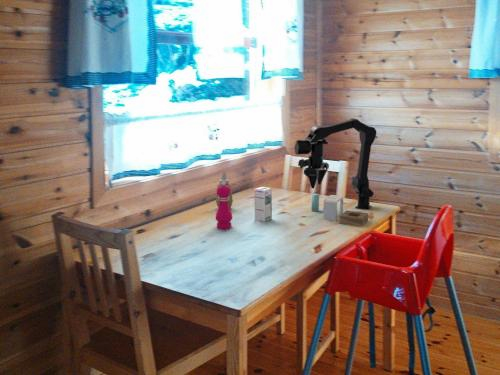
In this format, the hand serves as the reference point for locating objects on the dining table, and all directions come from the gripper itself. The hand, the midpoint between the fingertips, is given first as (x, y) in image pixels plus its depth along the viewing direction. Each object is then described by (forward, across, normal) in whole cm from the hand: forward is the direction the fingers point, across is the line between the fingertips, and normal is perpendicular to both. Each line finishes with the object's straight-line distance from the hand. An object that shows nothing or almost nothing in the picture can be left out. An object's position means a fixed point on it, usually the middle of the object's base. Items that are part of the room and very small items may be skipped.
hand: (316, 186), depth 262 cm
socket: (+12, +10, +22) cm, 27 cm away
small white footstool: (+12, +6, +11) cm, 17 cm away
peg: (+12, 0, 0) cm, 12 cm away
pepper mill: (+12, +41, -27) cm, 51 cm away
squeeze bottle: (+12, +15, -41) cm, 45 cm away
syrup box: (+12, +23, -17) cm, 31 cm away
